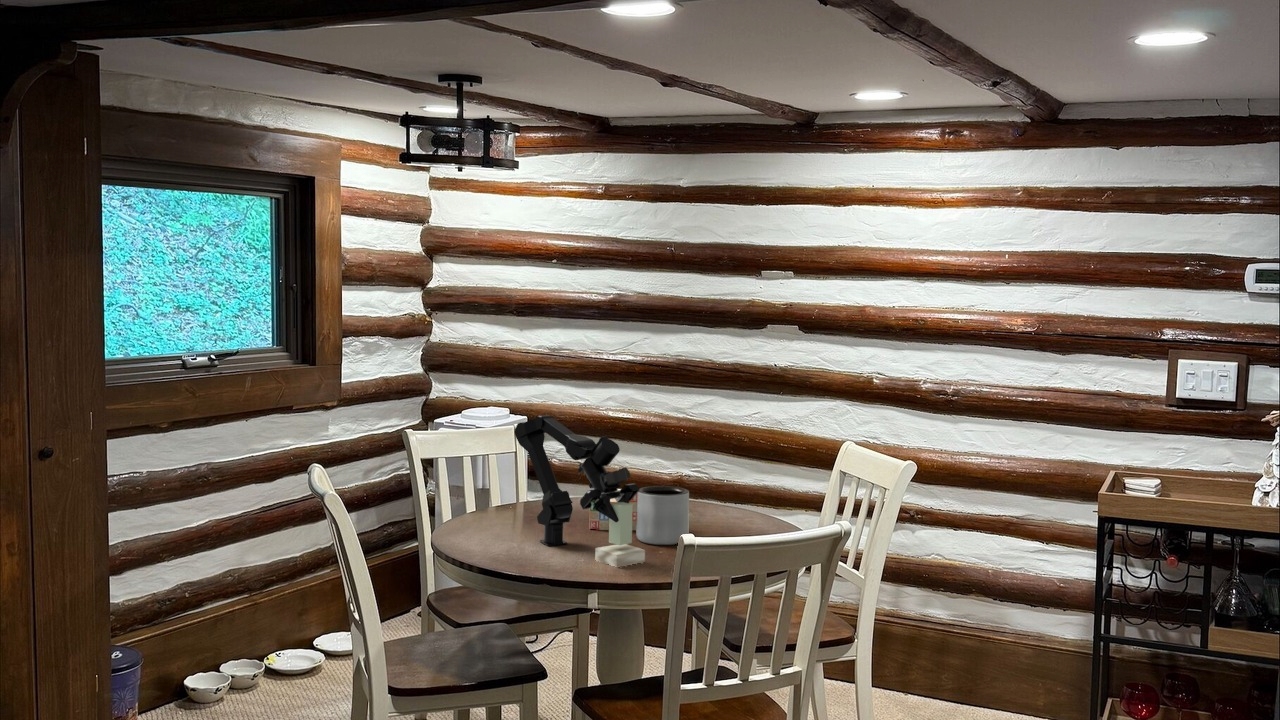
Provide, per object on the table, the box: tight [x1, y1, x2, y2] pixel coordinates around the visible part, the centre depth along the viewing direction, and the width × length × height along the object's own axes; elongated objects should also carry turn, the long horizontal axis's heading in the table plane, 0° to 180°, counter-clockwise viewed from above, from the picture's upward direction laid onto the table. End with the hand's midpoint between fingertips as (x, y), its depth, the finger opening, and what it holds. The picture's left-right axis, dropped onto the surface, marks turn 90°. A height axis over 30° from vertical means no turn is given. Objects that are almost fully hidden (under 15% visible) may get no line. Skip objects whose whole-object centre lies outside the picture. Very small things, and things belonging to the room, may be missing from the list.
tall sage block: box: [608, 502, 633, 545], centre depth 314 cm, size 5×5×11 cm
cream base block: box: [594, 544, 646, 568], centre depth 315 cm, size 10×10×4 cm
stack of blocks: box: [588, 488, 638, 531], centre depth 358 cm, size 21×6×12 cm, turn 93°
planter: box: [635, 485, 690, 546], centre depth 342 cm, size 16×16×16 cm
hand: (623, 520), depth 313 cm, fingers closed on tall sage block, 5 cm apart
